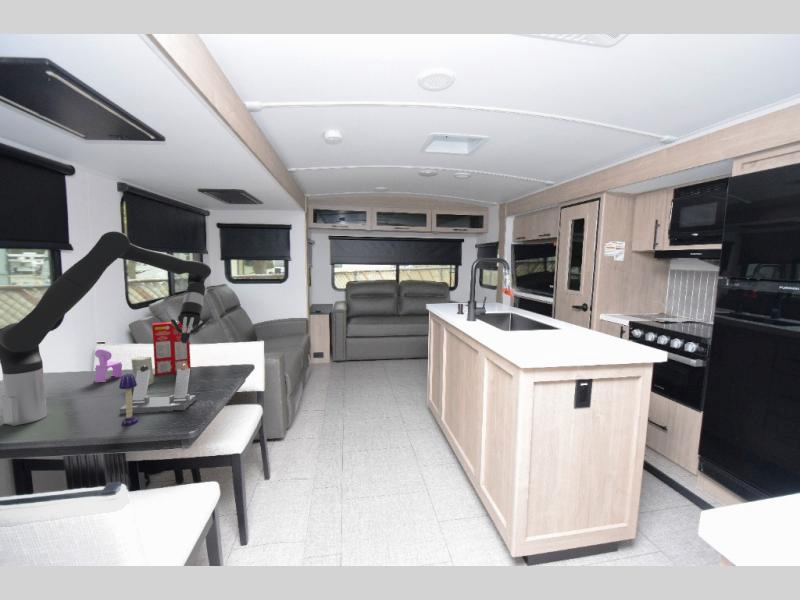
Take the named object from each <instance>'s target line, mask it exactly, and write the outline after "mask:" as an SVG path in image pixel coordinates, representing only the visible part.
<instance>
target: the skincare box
mask: <svg viewBox="0 0 800 600" xmlns="http://www.w3.org/2000/svg"><path fill="white" fill-rule="evenodd" d="M142 366H147V367H148V370H151V371H150V377H149V383H148V386H149V385H153V384H154V373H153V372H154V370H153V361H152V357H151V356H139V357H138V356H137V357H136V358H132V359H131V368H132V374H133V375H134V378H135V380H136V375H137V370H140V368H141V367H142Z"/></svg>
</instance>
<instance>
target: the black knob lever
mask: <svg viewBox="0 0 800 600" xmlns="http://www.w3.org/2000/svg"><path fill="white" fill-rule="evenodd" d="M150 371H151V370H148V367H147V366H142V367H141V368H140V370H137V375H136V383H137V386H136V387H133V392H132V402H138V401H145V400H144V398H145V397H147V396H148V395H147V394H148V389H149V388H148V387H149V385H148V383H149V377H150Z"/></svg>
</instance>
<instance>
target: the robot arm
mask: <svg viewBox="0 0 800 600" xmlns="http://www.w3.org/2000/svg"><path fill="white" fill-rule="evenodd" d="M118 259H122V260H127V261H132V262H136V263H140V264H143V265H146V266H147V265H148V266H150V267H154V268H157V269H160V270H163V271H166V272H168V273H169V272H170V273H172V274H176V275H183V274H188V276H187V286H186V291H185V295H184V297H183V301H182V304H181V305H182V306H181V309H180V313H179V315H178V316H177V318H175V319H171V320H170V322H171V323H172V325H173V326H174V327H175V329H176V330H177V332H178V333H181V334H182V335H181V342H182V343H187V342H188V341H189V342H190V338H191V335H196V334H197V333H199V332H200V331H201V330H202V329H204V328H205V327H206V322H204V321H202V318H201V317H202V316H201V315H202V311H203V308H204V298H205V294H206V286H205V282H206V280H207V278H209V277H210V275H211V274H212V269H211V267H210V266H209V265H208V264H206V263H204V262H201V261H197V260H189V259H183V258H182V257H181V258H180V257H177V256H175V255H172V254H169V253H165V252H161V251H156V250H150V249H146V248H143V247H140V246H137V245H135V244H132V243H131V241H130V239H129V237H128V235H126V234H125V233H123V232H120V231H115V230H114V231H113V230H112V231H108V232H105V233H104V234H102V235H101V236H100V237H99V240H97V242H96V243H95V244H94V246H92V247H91V249H90V251H89V252H87V254H85V256H83V257H82V258H81V259H80V260H78V261H76V262H75V263H74V264H73V265H72V266H70V267H68V269H67V270H65V271H64V272H63V273H62V274H61V275H59V277H57V279H55V281H54V282H53V283H51V284H50V285H49V287H48V288H47V289H46V291H45V292H44V293H43V295H42V296H41V298H40V300H39V301H38V303H37V304H36V306H35V307H34V308H33V309H32V310H31V311H30V312H29V313H28V314H26V315H25V316H24V317H23V318H22V319H21V320H20V321H18V322H14V323H10V324H8V325H6V326H3V327H2V328H1V329H0V367H1V372H2V373H1V374H2V381H3V383H2V384H3V391H4V392H3V393H4V394H3V395H1V406H2V416H3V417H2V418H3V423H4V424H6V425H8V426H12V427H15V426H18V425H23V424H29V423H34V422H37V421H40V420H42V419H44V418H45V417H47V416H48V408H47V400H46V388H45V379H44V377H45V376H44V367H43V365H44V363H43V359H42V356H41V354H40V353H41V352H40V344H41V343H42V342H43V341H44V340H45V338H46V337H47V335H48V334H49V333H50V332H51V330H52V329H53V328H54V326H55V325H56V324H57V323H58V321H59V320H60V319H61V318H63V317H64V316H66V314H67V313H69V311H70V310H71V309H72V308H74V307H75V306H76V305H77V304H78V303H79V302H80V301H81V300H82V299H83V298H84V297H85V296H86V295H87V294H88V293H89V292H90V291H91V290H92V289H93V287H94V286H95V285H96V284H97V282H98V281H99V280H100V278H101V277H102V275H103V274H104V273H105V271H106V270H107V269H108V268H109V266H111V265H112V264H113V263H114V262H115V261H117V260H118ZM178 322H180V324H181V325H182V326H183V329H180V327H179V326H178ZM187 327H188V330H187ZM186 330H187V333H186Z"/></svg>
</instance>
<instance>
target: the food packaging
mask: <svg viewBox="0 0 800 600" xmlns="http://www.w3.org/2000/svg"><path fill="white" fill-rule="evenodd" d="M151 325H152V341H153V343H152V345H153V360H154V363H153V364H154V377H157V375H158V376H163V375H164V374H165V375H171V374H170V373H172V374H177V370H178V369H180V367H181V365H183V364H186V365H188V368H189V369H190V370H191V368H192V367H191V365H192V364H191V351H190V350H191V349H190V346H191V345H190V340H189V341H188V342H187V343H182V342H181V335H182V334H181V333H178V332H177V330H176V329H175V327H174V326H173V325H172V323H171V321H168V322H167V321H165V322H153V323H152V324H151ZM178 326H179V327H180V329H183V326H182V325H181V324H180V322H179V321H178ZM187 330H188V327H187ZM187 330H186V333H187ZM191 371H192V370H191Z"/></svg>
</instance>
